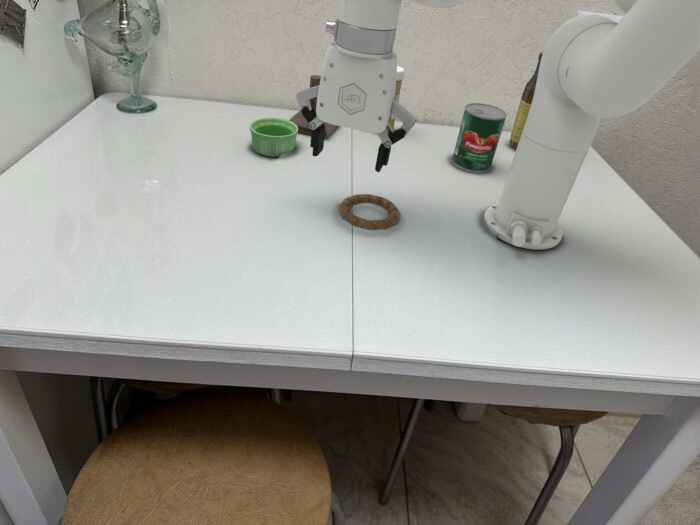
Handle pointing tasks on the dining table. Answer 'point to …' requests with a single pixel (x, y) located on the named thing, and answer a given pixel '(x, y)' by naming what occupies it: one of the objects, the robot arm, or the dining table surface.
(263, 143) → the ramekin
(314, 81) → the stand
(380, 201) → the ring
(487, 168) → the canned tomato
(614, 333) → the dining table surface
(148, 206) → the dining table surface
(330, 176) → the dining table surface
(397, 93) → the sprinkles bottle
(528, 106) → the sauce bottle
